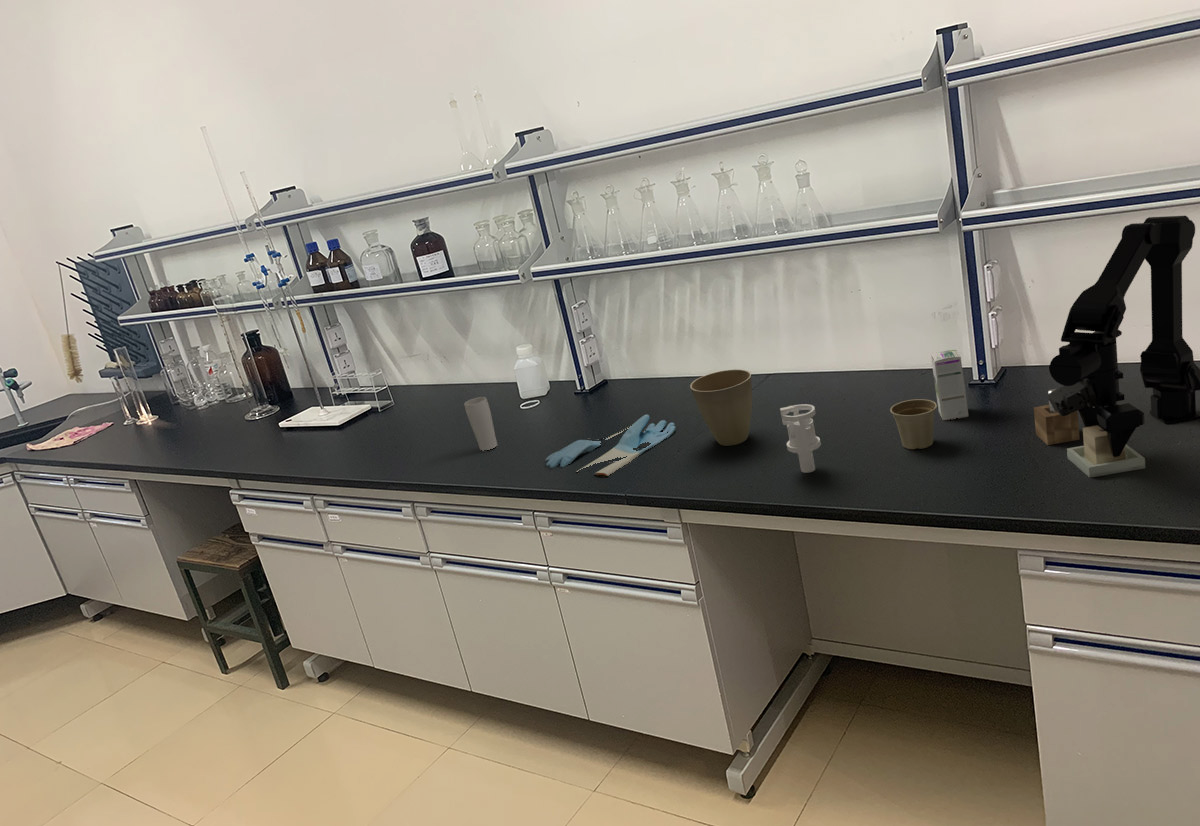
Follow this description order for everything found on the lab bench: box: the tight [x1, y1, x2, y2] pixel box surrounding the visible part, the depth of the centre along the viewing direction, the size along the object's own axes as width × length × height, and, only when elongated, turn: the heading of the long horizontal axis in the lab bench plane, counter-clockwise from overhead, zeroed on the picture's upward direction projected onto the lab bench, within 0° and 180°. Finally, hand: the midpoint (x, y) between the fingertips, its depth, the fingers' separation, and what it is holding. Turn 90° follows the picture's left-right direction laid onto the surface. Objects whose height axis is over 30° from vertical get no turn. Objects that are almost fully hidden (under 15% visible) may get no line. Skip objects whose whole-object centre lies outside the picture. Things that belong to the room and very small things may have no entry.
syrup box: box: [930, 349, 969, 421], centre depth 195 cm, size 6×6×14 cm
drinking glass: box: [463, 396, 498, 452], centre depth 251 cm, size 7×7×15 cm
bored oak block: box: [1033, 404, 1080, 446], centre depth 173 cm, size 6×6×6 cm
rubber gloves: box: [544, 414, 677, 477], centre depth 230 cm, size 27×33×6 cm
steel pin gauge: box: [1047, 388, 1058, 413], centre depth 173 cm, size 2×2×10 cm
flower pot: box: [889, 398, 938, 450], centre depth 185 cm, size 9×9×9 cm
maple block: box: [1082, 425, 1126, 465], centre depth 158 cm, size 5×5×6 cm
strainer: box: [779, 403, 822, 474], centre depth 185 cm, size 7×7×15 cm
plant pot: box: [689, 368, 753, 447], centre depth 212 cm, size 15×15×16 cm
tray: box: [1066, 443, 1146, 478], centre depth 159 cm, size 9×9×2 cm
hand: (1104, 447), depth 159 cm, fingers open, 9 cm apart
